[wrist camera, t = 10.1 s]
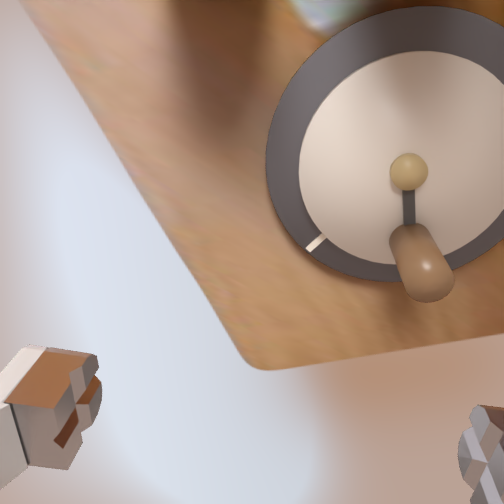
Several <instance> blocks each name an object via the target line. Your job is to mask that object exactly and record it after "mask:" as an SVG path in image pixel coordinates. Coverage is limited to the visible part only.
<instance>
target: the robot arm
mask: <svg viewBox="0 0 504 504" xmlns="http://www.w3.org/2000/svg"><path fill="white" fill-rule="evenodd" d="M98 368H99V365H98V360H97V356H95V355H93V354H89V353H83V352H77V351H70V350H64V349H57V348H48V347H42V346H36V345H30V344H29V345H27V346H25V347H23V348H22V349H21V350H20V351H19V352H18V353H17V354H16V356H15V357H14V358H13V359H12V360H11V361H10V362H9V364H8V365H7V366H6V367H5V368H4V369H3V370H2V372H1V373H0V490H1V489H2V488H3V487H4V486H6V485H7V484H8V483H9V482H11V481H12V480H13V479H15V478H16V477H17V476H18V475H20V474H21V473H22V472H23V471H25V470H26V469H27V468H28V465H30V466H38V467H46V468H55V469H62V470H68V469H69V467H70V465H71V463H72V461H73V459H74V458H75V456H76V454H77V452H78V450H79V448H80V447H81V445H82V443H83V442H82V436H81V432H82V431H84V430H85V429H87V428H88V427H90V426H91V425H92V424H93V422H94V420H95V418H96V416H97V414H98V411H99V407H100V404H101V401H102V385H101V382H100V380H99V379H98V378H97V377H96V376H95V373H96V371H97V370H98ZM469 418H470V420H471V423H472V427H470V428H469V429H467V430H466V431H464V432H463V433H462V436H461V438H460V441H459V446H458V460H459V467H460V470H461V474H462V477H463V479H464V480H465V481H466V483H468V485H469V486H470V487H471V488H472V489H473V490H474V492H473V495H472V497H471V499H470V502H471V504H504V408H501V407H493V406H485V405H477V406H476V407H475V408H473V410H472V412H471V414H470V417H469Z"/></svg>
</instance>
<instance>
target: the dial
mask: <svg viewBox="0 0 504 504" xmlns="http://www.w3.org/2000/svg"><path fill="white" fill-rule="evenodd" d="M299 182H300V189H301V194H302V198H303V201H304V204H305V206H306V209H307V211H308V213H309V215H310V217H311V219H312V220H313V222H314V223H315V225H316V226H317V227H318V229H319V230H320V231H321V232H322V233H323V234H324V235H325V236H326V237H327V238H328V239H329V240H330V241H331V242H332V243H334V244H335V245H336V246H338V247H339V248H341V249H342V250H344V251H346V252H347V253H349V254H352V255H354V256H356V257H359V258H361V259H365V260H368V261H372V262H377V263H383V264H396V265H397V268H398V271H399V273H400V276H401V279H402V282H403V284H404V287H405V290H406V292H407V294H408V295H409V296H410V297H411V298H412V299H414V300H416V301H419V302H425V303H428V302H435V301H438V300H440V299H442V298H444V297H445V296H447V295H448V294H449V293H450V291H451V290H452V288H453V286H454V282H455V278H454V274H453V272H452V270H451V268H450V267H449V265H448V263H447V262H446V260H445V258H444V255H446V254H449V253H451V252H453V251H455V250H457V249H459V248H461V247H463V246H464V245H466V244H467V243H469V242H470V241H472V240H473V239H475V238H476V237H477V236H478V235H480V234H481V233H482V232H483V231H484V230H486V229H487V228H488V227H489V226H490V225H491V224H492V223H493V222H494V221H495V219H496V218H497V217H498V216H499V214H500V213H501V212H502V211H503V209H504V85H503V84H502V83H501V82H500V81H499V80H498V79H497V78H496V77H495V76H494V75H493V74H492V73H490V72H489V71H487V70H486V69H485V68H483V67H482V66H480V65H478V64H476V63H474V62H472V61H470V60H468V59H465V58H462V57H459V56H455V55H452V54H448V53H442V52H435V51H409V52H401V53H397V54H393V55H389V56H385V57H382V58H380V59H377V60H375V61H372V62H370V63H368V64H366V65H364V66H363V67H361V68H359V69H357V70H355V71H354V72H353V73H351V74H350V75H349V76H347V77H346V78H344V79H343V80H342V81H341V82H340V83H339V84H338V85H336V86H335V87H334V88H333V89H332V90H331V91H330V92H329V94H328V95H327V96H326V97H325V98H324V100H323V101H322V102H321V103H320V105H319V107H318V108H317V110H316V111H315V113H314V114H313V116H312V118H311V120H310V122H309V124H308V127H307V129H306V132H305V135H304V138H303V141H302V146H301V151H300V159H299Z"/></svg>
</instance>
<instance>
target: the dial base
mask: <svg viewBox="0 0 504 504" xmlns="http://www.w3.org/2000/svg"><path fill="white" fill-rule="evenodd" d="M409 51H435V52H442V53H448V54H452V55H455V56H459V57H462V58H465V59H468V60H470V61H472V62H474V63H476V64H478V65H480V66H482V67H483V68H485V69H486V70H487V71H489V72H490V73H492V74H493V75H494V76H495V77H496V78H497V79H498V80H499V81H500V82H501V83H502V84H503V85H504V27H502V26H501V25H500V24H498V23H496V22H493V21H491V20H489V19H487V18H485V17H483V16H481V15H478V14H475V13H472V12H469V11H465V10H462V9H456V8H449V7H442V6H416V7H409V8H402V9H395V10H390V11H387V12H383V13H380V14H376V15H373V16H370V17H368V18H366V19H363V20H361V21H359V22H357V23H354V24H352V25H351V26H349V27H347V28H346V29H344V30H342V31H341V32H339V33H337V34H336V35H334V36H333V37H332V38H330V39H329V40H328V41H326V42H325V43H324V44H323V45H321V46H320V47H319V48H318V49H317V50H316V51H315V52H314V53H313V54H312V55H311V56H310V57H309V58H308V59H307V60H306V61H305V62H304V63H303V64H302V66H301V67H300V68H299V70H298V71H297V72H296V74H295V75H294V76H293V77H292V79H291V81H290V82H289V84H288V86H287V87H286V89H285V91H284V93H283V94H282V97H281V99H280V101H279V104H278V106H277V108H276V111H275V113H274V116H273V120H272V123H271V127H270V130H269V134H268V141H267V148H266V175H267V183H268V188H269V192H270V196H271V199H272V202H273V205H274V207H275V210H276V212H277V214H278V216H279V218H280V220H281V222H282V223H283V225H284V227H285V228H286V230H287V231H288V232H289V234H290V235H291V236H292V237H293V239H294V240H295V241H296V242H297V243H298V244H299V245H300V246H301V247H302V248H303V249H304V250H305V251H306V252H307V253H309V254H310V255H311V256H313V257H314V258H315V259H317V260H318V261H320V262H321V263H323V264H325V265H327V266H328V267H330V268H332V269H334V270H337V271H339V272H342V273H344V274H347V275H350V276H354V277H357V278H361V279H367V280H372V281H383V282H401V281H402V279H401V276H400V273H399V271H398V268H397V265H396V264H383V263H377V262H372V261H368V260H365V259H361V258H359V257H356V256H354V255H352V254H349V253H347V252H346V251H344V250H342V249H341V248H339V247H338V246H336V245H335V244H334V243H332V242H331V241H330V240H329V239H328V238H327V237H326V236H325V235H324V234H323V233H322V232H321V231H320V230H319V229H318V227H317V226H316V225H315V223H314V222H313V220H312V219H311V217H310V215H309V213H308V211H307V209H306V206H305V204H304V201H303V198H302V194H301V189H300V182H299V159H300V151H301V146H302V141H303V138H304V135H305V132H306V129H307V127H308V124H309V122H310V120H311V118H312V116H313V114H314V113H315V111H316V110H317V108H318V107H319V105H320V103H321V102H322V101H323V100H324V98H325V97H326V96H327V95H328V94H329V92H330V91H331V90H332V89H333V88H334V87H335V86H336V85H338V84H339V83H340V82H341V81H342V80H343V79H344V78H346V77H347V76H349V75H350V74H351V73H353V72H354V71H355V70H357V69H359V68H361V67H363V66H364V65H366V64H368V63H370V62H372V61H375V60H377V59H380V58H382V57H385V56H389V55H393V54H397V53H401V52H409ZM503 238H504V209H503V211H502V212H501V213H500V214H499V216H498V217H497V218H496V219H495V221H494V222H493V223H492V224H491V225H490V226H489V227H488V228H487V229H486V230H484V231H483V232H482V233H481V234H480V235H478V236H477V237H476V238H475V239H473V240H472V241H470V242H469V243H467V244H466V245H464V246H463V247H461V248H459V249H457V250H455V251H453V252H451V253H449V254H446V255H444V258H445V260H446V262H447V263H448V265H449V267H450V268H451V270H453V269H456V268H458V267H460V266H462V265H464V264H466V263H468V262H470V261H472V260H474V259H476V258H477V257H479V256H480V255H482V254H483V253H485V252H487V251H488V250H490V249H491V248H492V247H493V246H494V245H496V244H497V243H498V242H499V241H501V240H502V239H503Z"/></svg>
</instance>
